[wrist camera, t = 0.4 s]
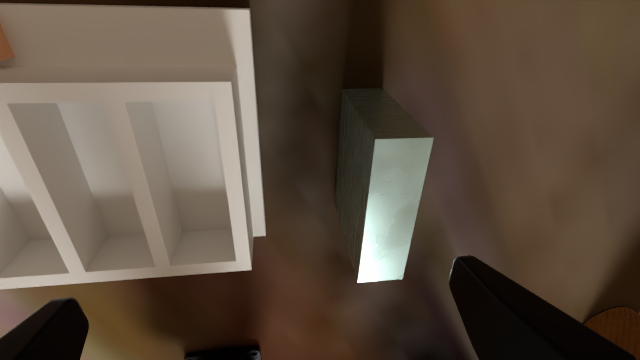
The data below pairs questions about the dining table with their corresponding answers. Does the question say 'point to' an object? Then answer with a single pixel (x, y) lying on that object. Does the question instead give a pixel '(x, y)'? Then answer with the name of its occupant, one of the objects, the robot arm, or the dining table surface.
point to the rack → (126, 143)
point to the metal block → (379, 181)
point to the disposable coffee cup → (619, 328)
